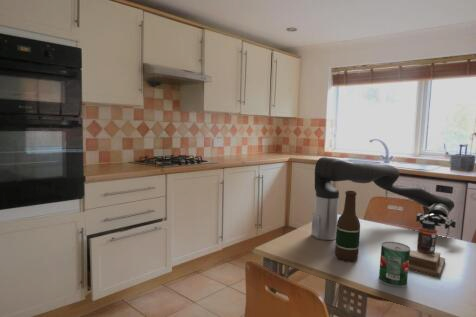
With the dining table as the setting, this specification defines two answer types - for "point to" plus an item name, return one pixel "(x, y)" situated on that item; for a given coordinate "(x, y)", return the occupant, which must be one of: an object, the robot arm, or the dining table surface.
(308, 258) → the dining table surface
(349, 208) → the beer bottle
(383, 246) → the canned tomato
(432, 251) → the supplement bottle
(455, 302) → the dining table surface
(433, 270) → the walnut dock
